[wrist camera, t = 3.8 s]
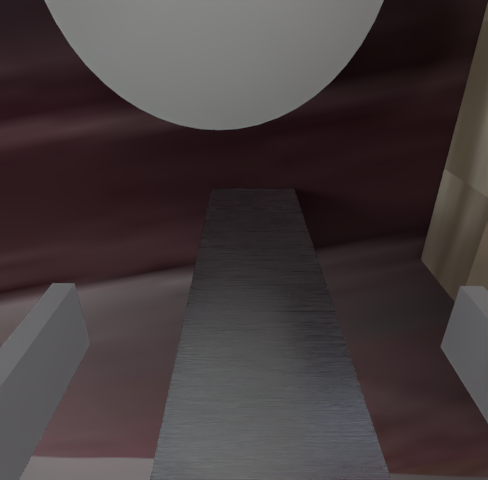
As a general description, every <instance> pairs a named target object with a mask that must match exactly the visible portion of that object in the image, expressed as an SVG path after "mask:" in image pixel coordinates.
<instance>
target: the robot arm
mask: <svg viewBox="0 0 488 480" xmlns="http://www.w3.org/2000/svg"><path fill="white" fill-rule="evenodd" d="M89 345H90V341H89V337H88V333H87V329H86V325H85V321H84V318H83V314H82V310H81V306H80V302H79V298H78V294H77V290H76V286H75V283H52V284H51V286H50V287H49V288H48V289H47V291H46V292H45V293H44V294H43V296H42V297H41V298H40V299H39V301H38V302H37V303H36V304H35V305H34V307H33V308H32V309H31V310H30V312H29V313H28V314H27V315H26V317H25V318H24V319H23V320H22V322H21V323H20V324H19V325H18V327H17V328H16V329H15V330H14V331H13V333H12V334H11V335H10V336H9V338H8V339H7V340H6V341H5V343H4V344H3V345H2V346H1V348H0V480H19V479H20V477H21V475H22V473H23V471H24V469H25V468H26V466H27V464H28V462H29V460H30V458H31V456H32V454H33V452H34V450H35V449H36V447H37V445H38V443H39V441H40V439H41V437H42V435H43V433H44V431H45V429H46V428H47V426H48V424H49V422H50V420H51V418H52V416H53V414H54V412H55V410H56V408H57V407H58V405H59V403H60V401H61V399H62V397H63V395H64V393H65V391H66V389H67V387H68V386H69V384H70V382H71V380H72V378H73V376H74V374H75V372H76V370H77V368H78V366H79V365H80V363H81V361H82V359H83V357H84V355H85V353H86V351H87V349H88V347H89ZM441 349H442V350H443V352H444V354H445V355H446V357H447V358H448V360H449V362H450V363H451V365H452V366H453V368H454V370H455V371H456V373H457V374H458V376H459V378H460V379H461V381H462V382H463V384H464V386H465V387H466V389H467V391H468V392H469V394H470V395H471V397H472V399H473V400H474V402H475V403H476V405H477V407H478V408H479V410H480V411H481V413H482V415H483V416H484V418H485V419H486V421H487V423H488V291H487V290H486V289H485V288H484V286H460V288H459V291H458V294H457V298H456V301H455V304H454V307H453V310H452V313H451V316H450V319H449V322H448V325H447V328H446V331H445V334H444V337H443V340H442V344H441Z"/></svg>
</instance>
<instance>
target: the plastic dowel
mask: <svg viewBox="0 0 488 480" xmlns="http://www.w3.org/2000/svg"><path fill="white" fill-rule="evenodd" d="M383 1H384V0H45V2H46V4H47V6H48V8H49V10H50V12H51V14H52V16H53V18H54V20H55V22H56V24H57V25H58V27H59V28H60V30H61V32H62V33H63V35H64V36H65V38H66V39H67V41H68V43H69V44H70V46H71V47H72V48H73V49H74V51H75V52H76V53H77V54H78V56H79V57H80V58H81V59H82V61H83V62H84V63H85V64H86V66H87V67H88V68H89V69H90V70H91V71H92V72H93V73H94V74H95V75H96V76H97V77H98V78H99V79H100V80H101V81H102V82H103V83H104V84H106V85H107V86H108V87H109V88H111V89H112V90H113V91H114V92H115V93H117V94H118V95H119V96H120V97H122V98H123V99H125V100H126V101H128V102H130V103H131V104H133V105H134V106H136V107H137V108H139V109H141V110H143V111H145V112H147V113H149V114H151V115H153V116H155V117H157V118H160V119H163V120H166V121H169V122H172V123H175V124H178V125H181V126H187V127H192V128H197V129H208V130H229V129H240V128H245V127H250V126H255V125H259V124H262V123H265V122H268V121H271V120H273V119H276V118H279V117H281V116H283V115H285V114H287V113H289V112H291V111H293V110H295V109H297V108H298V107H299V106H301V105H302V104H304V103H305V102H307V101H308V100H310V99H311V98H313V97H314V96H315V95H317V94H318V93H319V92H320V91H321V90H322V89H324V88H325V87H326V86H327V85H328V84H329V83H330V82H332V80H333V79H334V78H335V77H336V76H337V75H338V74H339V73H340V72H341V71H342V69H343V68H344V67H345V66H346V65H347V64H348V62H349V61H350V60H351V58H352V57H353V56H354V54H355V53H356V51H357V50H358V49H359V47H360V46H361V44H362V43H363V41H364V39H365V38H366V36H367V34H368V32H369V30H370V29H371V27H372V25H373V23H374V22H375V19H376V17H377V15H378V13H379V10H380V8H381V6H382V3H383Z"/></svg>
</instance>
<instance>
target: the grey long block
mask: <svg viewBox="0 0 488 480" xmlns="http://www.w3.org/2000/svg"><path fill="white" fill-rule="evenodd" d="M150 480H391V478H390V475H389V472H388V469H387V466H386V463H385V460H384V457H383V454H382V451H381V448H380V445H379V442H378V439H377V436H376V433H375V430H374V427H373V424H372V421H371V418H370V415H369V412H368V409H367V406H366V403H365V400H364V397H363V394H362V391H361V388H360V385H359V382H358V379H357V376H356V373H355V370H354V367H353V364H352V361H351V358H350V355H349V352H348V349H347V346H346V343H345V340H344V337H343V334H342V331H341V328H340V325H339V322H338V319H337V316H336V313H335V310H334V307H333V304H332V301H331V298H330V295H329V292H328V289H327V286H326V283H325V280H324V277H323V274H322V271H321V268H320V265H319V262H318V259H317V256H316V253H315V250H314V247H313V244H312V241H311V238H310V235H309V232H308V229H307V226H306V223H305V220H304V217H303V214H302V211H301V208H300V205H299V202H298V199H297V196H296V193H295V190H294V189H211V194H210V198H209V203H208V208H207V212H206V217H205V222H204V227H203V231H202V236H201V241H200V246H199V250H198V255H197V260H196V265H195V269H194V274H193V279H192V283H191V288H190V293H189V298H188V302H187V307H186V312H185V317H184V321H183V326H182V331H181V336H180V340H179V345H178V350H177V354H176V359H175V364H174V369H173V373H172V378H171V383H170V388H169V392H168V397H167V402H166V407H165V411H164V416H163V421H162V425H161V430H160V435H159V440H158V444H157V449H156V454H155V459H154V463H153V468H152V473H151V478H150Z"/></svg>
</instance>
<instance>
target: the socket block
mask: <svg viewBox="0 0 488 480" xmlns="http://www.w3.org/2000/svg"><path fill="white" fill-rule="evenodd" d="M421 261H422V262H423V263H424V264H425V266H426V267H427V268H428V269H429V271H430V272H431V273H432V274H433V276H434V277H435V278H436V279H437V281H438V282H439V283H440V284H441V286H442V287H443V288H444V289H445V291H446V292H447V293H448V294H449V296H450V297H451V298H452V300H453V301H454V302H455V301H456V298H457V294H458V291H459V288H460V286H484V288H485V289H486V290H487V291H488V3H487V7H486V11H485V14H484V18H483V22H482V26H481V30H480V34H479V38H478V41H477V45H476V49H475V53H474V57H473V61H472V64H471V68H470V72H469V76H468V80H467V84H466V87H465V91H464V95H463V99H462V103H461V107H460V111H459V114H458V118H457V122H456V126H455V130H454V134H453V137H452V141H451V145H450V149H449V153H448V157H447V160H446V164H445V168H444V172H443V176H442V180H441V183H440V187H439V191H438V195H437V199H436V203H435V207H434V210H433V214H432V218H431V222H430V226H429V230H428V233H427V237H426V241H425V245H424V249H423V253H422V256H421Z"/></svg>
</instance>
